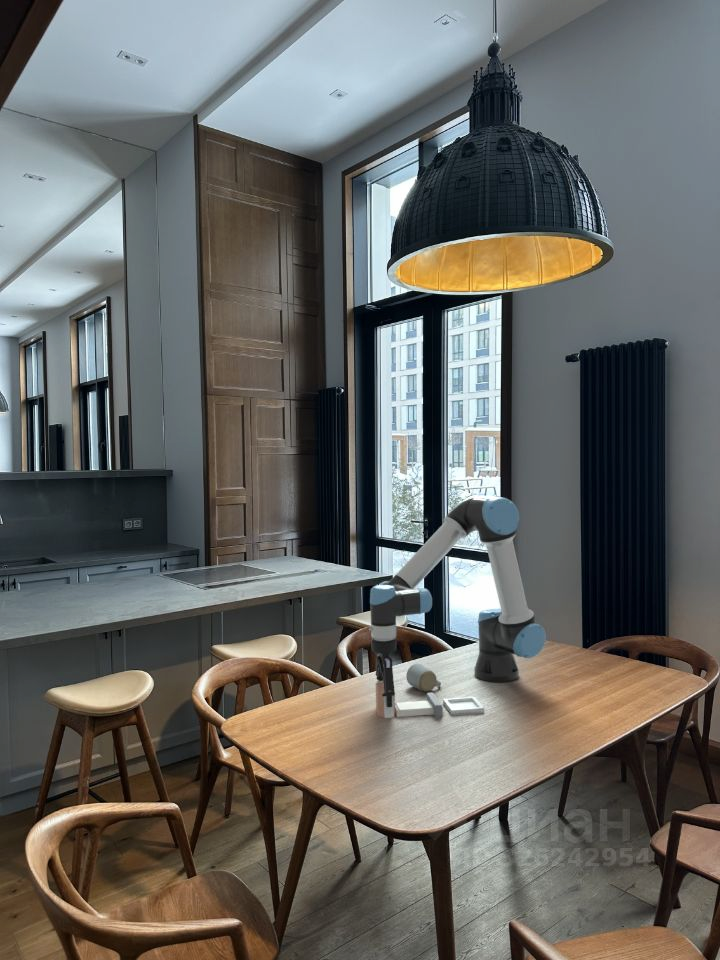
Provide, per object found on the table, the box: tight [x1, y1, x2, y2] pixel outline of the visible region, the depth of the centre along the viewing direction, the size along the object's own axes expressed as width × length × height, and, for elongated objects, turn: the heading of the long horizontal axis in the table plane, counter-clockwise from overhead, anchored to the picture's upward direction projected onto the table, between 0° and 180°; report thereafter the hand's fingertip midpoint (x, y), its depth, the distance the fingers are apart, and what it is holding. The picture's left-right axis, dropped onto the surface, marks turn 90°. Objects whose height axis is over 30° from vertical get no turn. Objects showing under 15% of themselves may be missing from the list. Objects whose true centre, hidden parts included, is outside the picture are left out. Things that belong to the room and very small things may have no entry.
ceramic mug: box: [406, 663, 442, 693], centre depth 227 cm, size 11×8×8 cm
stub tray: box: [442, 696, 485, 716], centre depth 208 cm, size 10×10×2 cm
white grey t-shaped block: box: [395, 692, 444, 718], centre depth 206 cm, size 14×11×4 cm
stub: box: [375, 682, 396, 718], centre depth 205 cm, size 5×4×9 cm
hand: (385, 709), depth 205 cm, fingers open, 12 cm apart
